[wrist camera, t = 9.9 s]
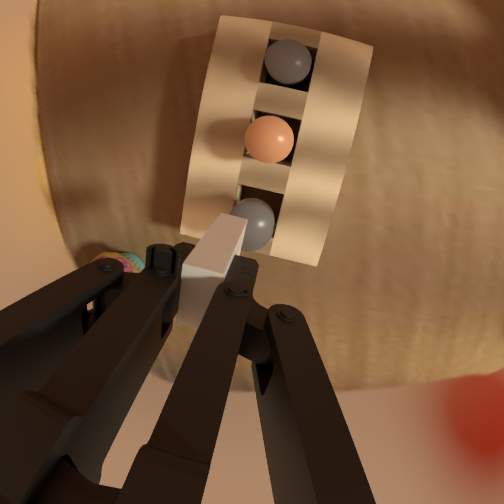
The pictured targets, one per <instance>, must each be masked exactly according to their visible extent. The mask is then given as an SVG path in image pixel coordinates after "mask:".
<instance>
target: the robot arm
mask: <svg viewBox="0 0 504 504" xmlns="http://www.w3.org/2000/svg"><path fill="white" fill-rule="evenodd" d="M247 221H248V219H245V218H241V217H237V216H232V215H228V214H224V213H221V214H220V215H219V216H218V218H217V219H216V220H215V221H214V223H213V224H212V225H211V227H210V228H209V229H208V231H207V232H206V233H205V234H204V236H203V237H202V238H201V240H200V241H199V242H198V244H197V245H193V244H189V243H185V242H182V243H179V244H176V245H175V246H174V247H173V246H171V245H166V244H153V245H150V246H148V247H147V250H146V264H145V268H144V269H143V270H142V271H141V272H140V273H133V272H124V265H123V263H122V262H120V261H119V260H116V259H114V258H101V259H98V260H95V261H93V262H91V263H89V264H87V265H85V266H83V267H81V268H79V269H77V270H75V271H73V272H71V273H70V274H67V275H65V276H63V277H61V278H59V279H58V280H56V281H54V282H52V283H50V284H48V285H46V286H44V287H43V288H41V289H39V290H37V291H35V292H33V293H31V294H29V295H28V296H26V297H24V298H22V299H20V300H19V301H17V302H15V303H13V304H11V305H10V306H8V307H6V308H4V309H3V310H1V311H0V504H201V500H202V497H203V493H204V489H205V485H206V481H207V477H208V473H209V469H210V464H211V459H212V456H213V452H214V448H215V444H216V440H217V436H218V432H219V428H220V424H221V420H222V416H223V412H224V408H225V404H226V400H227V396H228V392H229V388H230V384H231V380H232V376H233V372H234V368H235V364H236V360H237V356H238V354H239V355H241V356H243V357H245V358H247V359H249V360H251V361H252V373H253V379H254V385H255V391H256V398H257V404H258V410H259V416H260V422H261V428H262V434H263V440H264V446H265V452H266V458H267V463H268V469H269V475H270V480H271V486H272V492H273V497H274V503H275V504H376V503H375V500H374V497H373V494H372V491H371V489H370V486H369V483H368V480H367V477H366V475H365V472H364V469H363V466H362V464H361V461H360V458H359V456H358V453H357V450H356V448H355V445H354V442H353V440H352V437H351V434H350V432H349V429H348V426H347V424H346V421H345V419H344V416H343V413H342V411H341V408H340V406H339V403H338V400H337V398H336V395H335V392H334V390H333V387H332V385H331V382H330V380H329V377H328V375H327V372H326V369H325V367H324V364H323V362H322V359H321V357H320V354H319V352H318V349H317V347H316V344H315V342H314V339H313V337H312V334H311V332H310V329H309V327H308V324H307V322H306V319H305V317H304V315H303V314H302V313H301V312H300V311H299V310H298V309H296V308H294V307H292V306H290V305H285V304H276V305H273V306H271V307H270V308H269V309H267V308H265V307H263V306H261V305H259V304H258V303H257V302H256V301H255V300H254V298H253V289H254V284H255V280H256V276H257V272H258V267H259V265H258V263H257V261H256V260H254V259H251V258H247V257H243V256H240V251H241V247H242V243H243V238H244V234H245V229H246V225H247ZM91 301H92V302H93V308H92V309H91V310H87V304H88V303H90V302H91ZM176 313H177V316H176V323H180V324H183V325H186V326H190V327H193V328H197V329H198V330H197V332H196V334H195V336H194V339H193V341H192V343H191V345H190V348H189V350H188V352H187V354H186V357H185V359H184V361H183V363H182V366H181V368H180V370H179V373H178V375H177V377H176V379H175V382H174V384H173V386H172V389H171V391H170V394H169V395H168V398H167V400H166V402H165V405H164V407H163V409H162V412H161V414H160V416H159V419H158V421H157V423H156V426H155V428H154V430H153V433H152V435H151V437H150V439H149V441H148V443H147V444H145V445H143V446H142V447H141V448H140V449H139V451H138V453H137V455H136V457H135V459H134V462H133V464H132V466H131V469H130V471H129V473H128V476H127V478H126V480H125V483H124V485H123V487H122V489H119V488H114V487H109V486H104V485H99V482H100V478H101V470H102V465H103V462H104V459H105V457H106V455H107V453H108V451H109V449H110V447H111V445H112V443H113V441H114V439H115V437H116V435H117V433H118V431H119V429H120V427H121V425H122V423H123V421H124V419H125V417H126V415H127V413H128V412H129V410H130V408H131V406H132V404H133V402H134V400H135V398H136V396H137V394H138V392H139V390H140V388H141V386H142V384H143V383H144V380H145V379H146V376H147V375H148V373H149V371H150V369H151V367H152V365H153V364H154V362H155V360H156V358H157V356H158V354H159V352H160V350H161V349H162V347H163V345H164V343H165V341H166V339H167V338H168V336H169V334H170V332H171V330H172V326H173V318H174V317H175V315H176Z"/></svg>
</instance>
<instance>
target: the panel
mask: <svg viewBox="0 0 504 504" xmlns="http://www.w3.org/2000/svg"><path fill="white" fill-rule="evenodd" d="M284 39H290V40H295V41H298V42H300V43H302V44H303V45H304V46H305V47H306V48H307V49H308V51H309V52H310V55H311V59H314V64H313V69H312V73H311V78H310V82H309V87H308V91H307V92H304V91H300V90H295V89H291V88H286V87H282V86H277V85H272V84H267V83H265V82H266V77H267V73H268V70H267V68H266V65H265V54H266V51H267V49H268V48H269V47H270V46H271V45H272V44H273V43H275V42H277V41H280V40H284ZM372 52H373V46H370V45H367V44H364V43H361V42H358V41H354V40H351V39H348V38H344V37H341V36H337V35H333V34H329V33H326V32H322V31H317V30H313V29H309V28H304V27H299V26H294V25H289V24H284V23H278V22H272V21H266V20H259V19H251V18H243V17H234V16H222V15H221V16H220V19H219V23H218V27H217V31H216V35H215V39H214V43H213V48H212V52H211V56H210V61H209V65H208V69H207V74H206V79H205V83H204V88H203V93H202V98H201V103H200V108H199V113H198V118H197V124H196V129H195V135H194V141H193V146H192V152H191V158H190V165H189V171H188V178H187V184H186V191H185V198H184V205H183V213H182V221H181V229H180V234H184V235H188V236H192V237H196V238H200V239H201V238H202V237H203V236H204V234H205V233H206V232H207V231H208V229H209V228H210V227H211V225H212V224H213V223H214V221H215V220H216V219H217V218H218V216H219V215H220V214H221V213H224V214H228V215H229V213H230V212H231V210H232V209H233V208H234V206H235V205H236V204H237V203H238V202H240V200H241V195H242V190H243V185H246V186H250V187H255V188H259V189H263V190H268V191H272V192H276V193H280V194H283V198H282V202H281V206H280V211H279V215H278V219H277V223H276V222H274V228H273V233H272V236H271V239H270V240H269V242H268V243H267V244H266V245H265V246H264V247H262V248H261V249H259V250H255V251H254V252H258V253H262V254H267V255H271V256H275V257H279V258H283V259H287V260H291V261H296V262H300V263H304V264H308V265H312V266H316V267H317V264H318V261H319V258H320V255H321V252H322V249H323V245H324V242H325V239H326V236H327V232H328V229H329V226H330V222H331V219H332V216H333V212H334V209H335V205H336V202H337V198H338V195H339V191H340V188H341V184H342V181H343V177H344V173H345V169H346V166H347V162H348V158H349V154H350V150H351V146H352V142H353V138H354V134H355V130H356V126H357V122H358V118H359V114H360V109H361V105H362V100H363V96H364V91H365V87H366V82H367V77H368V73H369V68H370V63H371V58H372ZM259 112H262V113H267V114H272V115H276V116H281V117H285V118H290V119H294V120H298V121H301V122H300V126H299V130H298V135H297V139H296V143H295V148H294V152H293V156H292V160H291V161H289V160H285V159H283V160H281V161H279V162H276V163H263V162H260V161H258V160H256V159H254V158H253V157H252V156H251V155H250V154H249V152H248V151H247V149H246V146H245V133H246V130H247V128H248V126H249V125H250V124H251V123H252V122H253V121H254V120H255V119H257V118H258V113H259Z"/></svg>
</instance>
